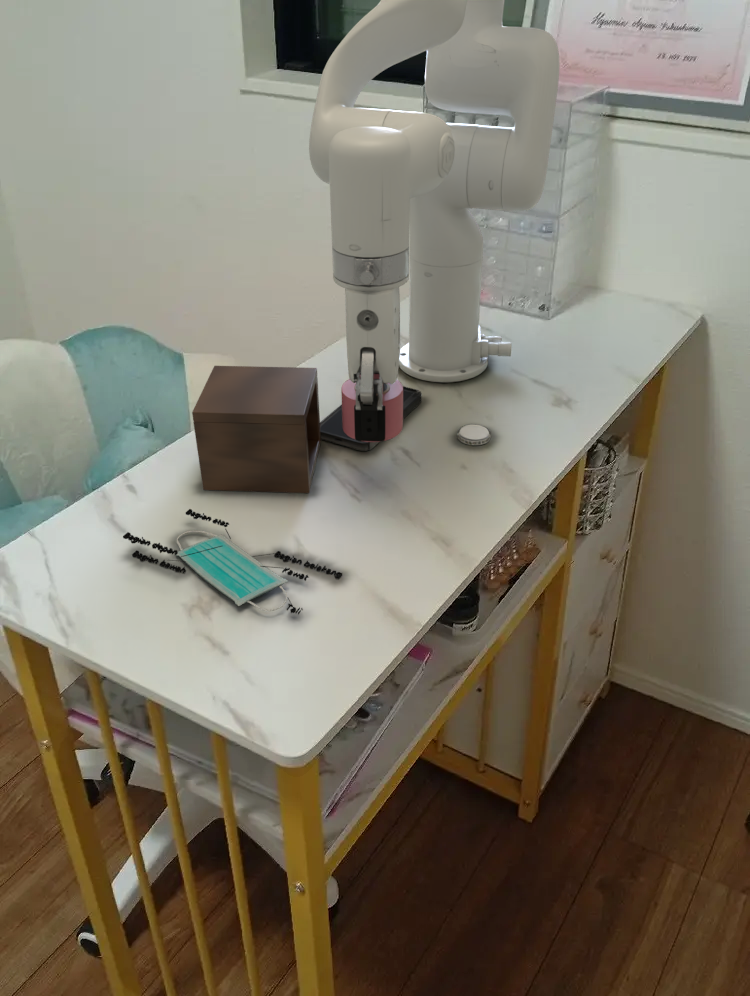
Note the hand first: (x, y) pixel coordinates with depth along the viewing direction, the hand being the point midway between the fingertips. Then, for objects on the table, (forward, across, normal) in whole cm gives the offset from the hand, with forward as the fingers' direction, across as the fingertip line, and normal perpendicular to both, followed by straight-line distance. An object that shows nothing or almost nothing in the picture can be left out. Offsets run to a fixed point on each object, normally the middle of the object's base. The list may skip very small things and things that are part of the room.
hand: (372, 421), depth 99 cm
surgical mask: (+8, -17, +13) cm, 23 cm away
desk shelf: (+8, +2, +13) cm, 15 cm away
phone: (+7, +14, +1) cm, 16 cm away
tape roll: (+1, 0, 0) cm, 1 cm away
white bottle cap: (+7, +10, -12) cm, 17 cm away
